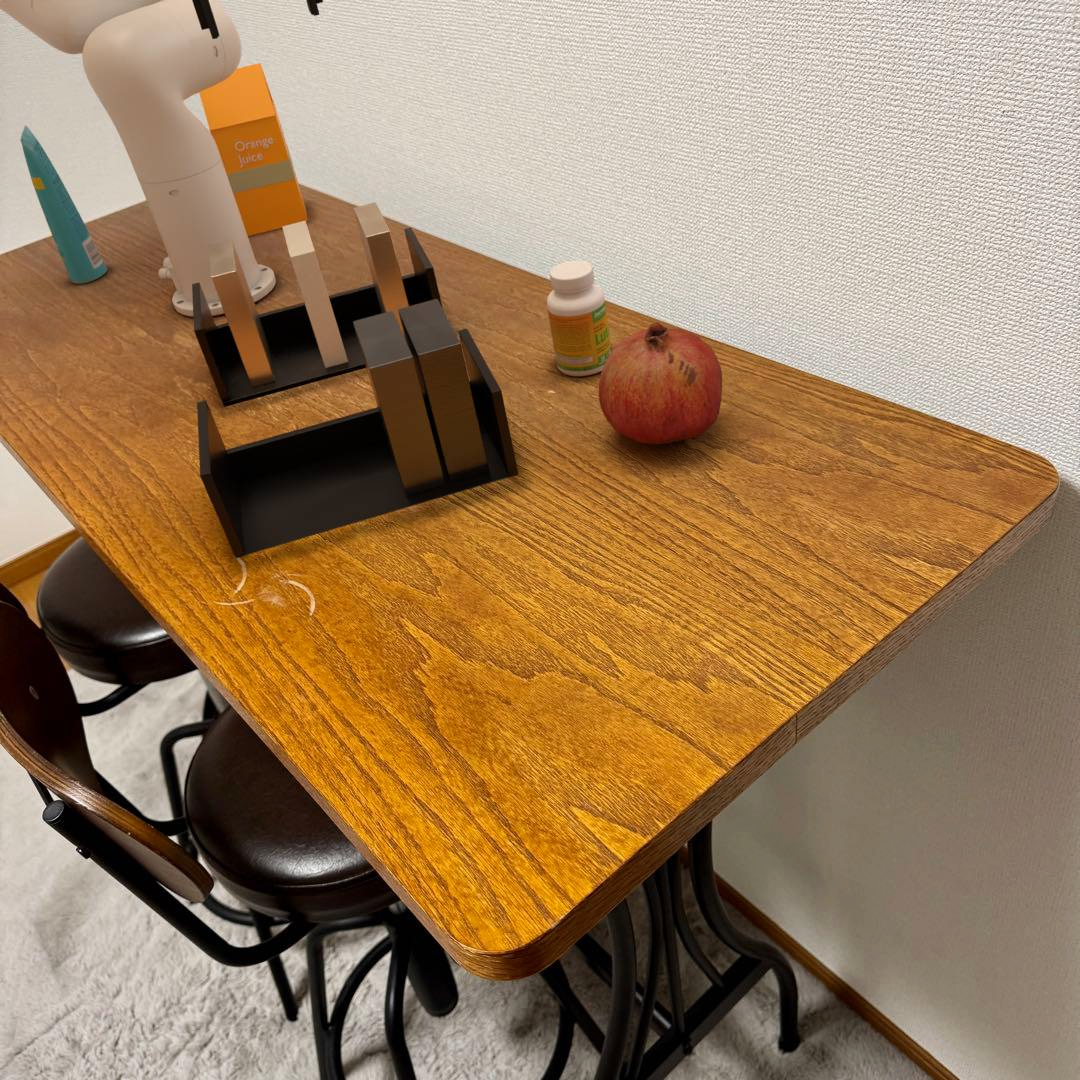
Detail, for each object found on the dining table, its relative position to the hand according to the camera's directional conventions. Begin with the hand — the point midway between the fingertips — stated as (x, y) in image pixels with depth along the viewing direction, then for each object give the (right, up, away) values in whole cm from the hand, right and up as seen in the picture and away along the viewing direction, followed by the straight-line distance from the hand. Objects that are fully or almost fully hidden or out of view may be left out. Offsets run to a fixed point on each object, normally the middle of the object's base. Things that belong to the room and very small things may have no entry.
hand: (265, 24), depth 100 cm
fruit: (+37, -40, -11) cm, 56 cm away
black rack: (+12, -45, -10) cm, 47 cm away
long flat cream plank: (+4, -29, +10) cm, 31 cm away
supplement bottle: (+31, -32, +1) cm, 45 cm away
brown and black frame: (+4, -30, +11) cm, 32 cm away
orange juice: (-11, -4, +47) cm, 48 cm away
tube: (-35, -14, +41) cm, 55 cm away
